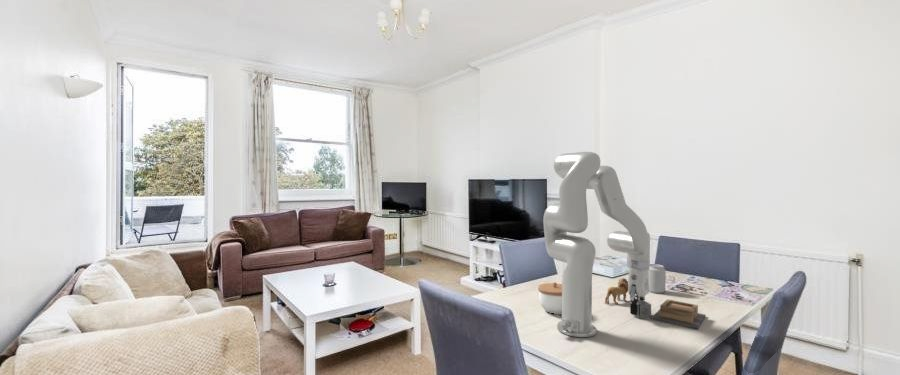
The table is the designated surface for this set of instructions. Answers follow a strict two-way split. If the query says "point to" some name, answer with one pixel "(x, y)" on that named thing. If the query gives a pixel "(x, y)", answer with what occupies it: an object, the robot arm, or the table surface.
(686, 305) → the base
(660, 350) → the table surface
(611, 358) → the table surface
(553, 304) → the lidded bowl
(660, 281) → the can
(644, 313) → the grey cube
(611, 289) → the lion figurine
